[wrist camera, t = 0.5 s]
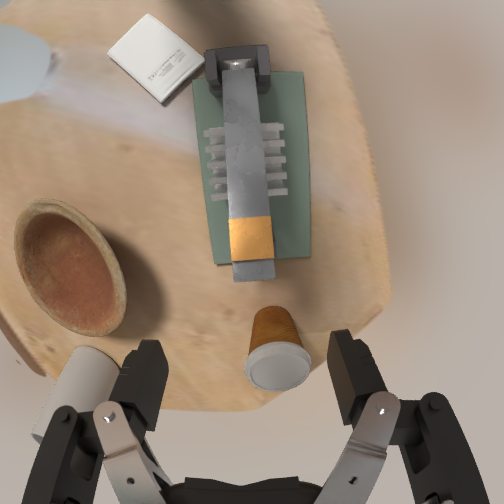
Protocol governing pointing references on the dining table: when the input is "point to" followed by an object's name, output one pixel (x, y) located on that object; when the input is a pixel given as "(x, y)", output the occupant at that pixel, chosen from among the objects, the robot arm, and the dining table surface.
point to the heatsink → (270, 155)
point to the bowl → (70, 268)
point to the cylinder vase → (79, 386)
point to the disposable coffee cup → (276, 352)
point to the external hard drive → (156, 57)
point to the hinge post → (234, 54)
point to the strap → (246, 174)
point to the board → (297, 165)
